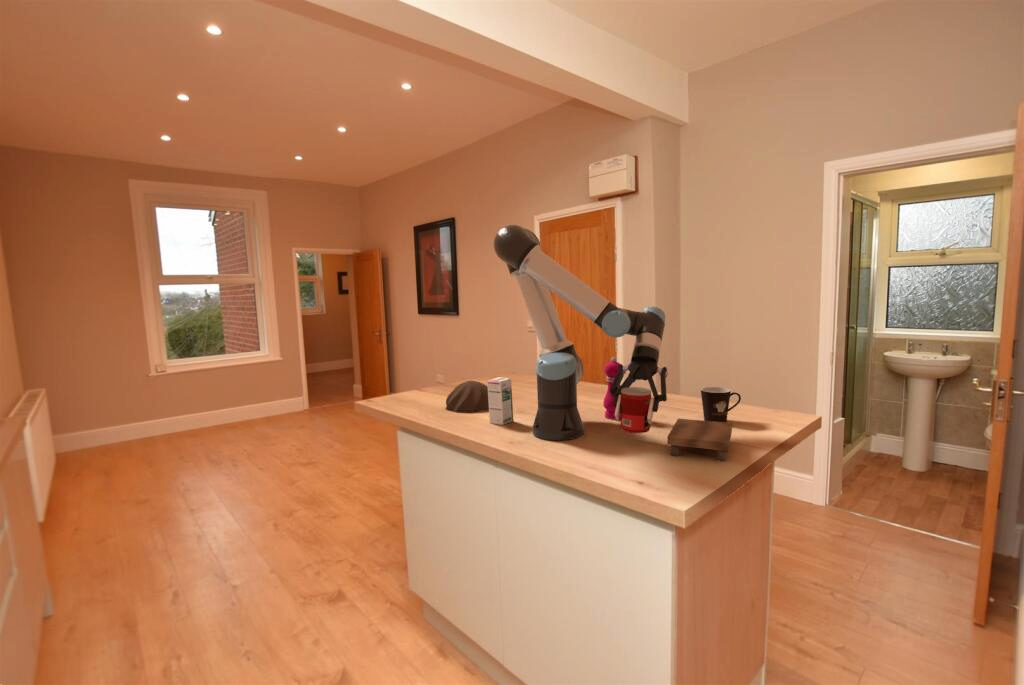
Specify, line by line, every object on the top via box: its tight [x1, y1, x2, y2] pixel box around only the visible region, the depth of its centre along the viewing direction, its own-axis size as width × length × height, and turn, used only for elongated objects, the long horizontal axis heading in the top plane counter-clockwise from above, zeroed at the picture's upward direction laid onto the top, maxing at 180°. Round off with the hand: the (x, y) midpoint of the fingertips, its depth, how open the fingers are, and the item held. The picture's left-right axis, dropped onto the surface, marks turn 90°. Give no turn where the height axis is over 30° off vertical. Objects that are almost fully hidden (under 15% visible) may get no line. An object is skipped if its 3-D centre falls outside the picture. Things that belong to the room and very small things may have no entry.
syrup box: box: [486, 376, 514, 426], centre depth 158 cm, size 6×6×14 cm
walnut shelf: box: [666, 418, 733, 462], centre depth 126 cm, size 14×18×5 cm
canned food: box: [620, 386, 652, 434], centre depth 133 cm, size 8×8×11 cm
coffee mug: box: [700, 386, 742, 423], centre depth 150 cm, size 12×9×10 cm
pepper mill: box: [602, 356, 621, 420], centre depth 159 cm, size 7×7×20 cm
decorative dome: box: [445, 380, 489, 413], centre depth 183 cm, size 19×20×10 cm
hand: (632, 419), depth 130 cm, fingers closed on canned food, 8 cm apart
